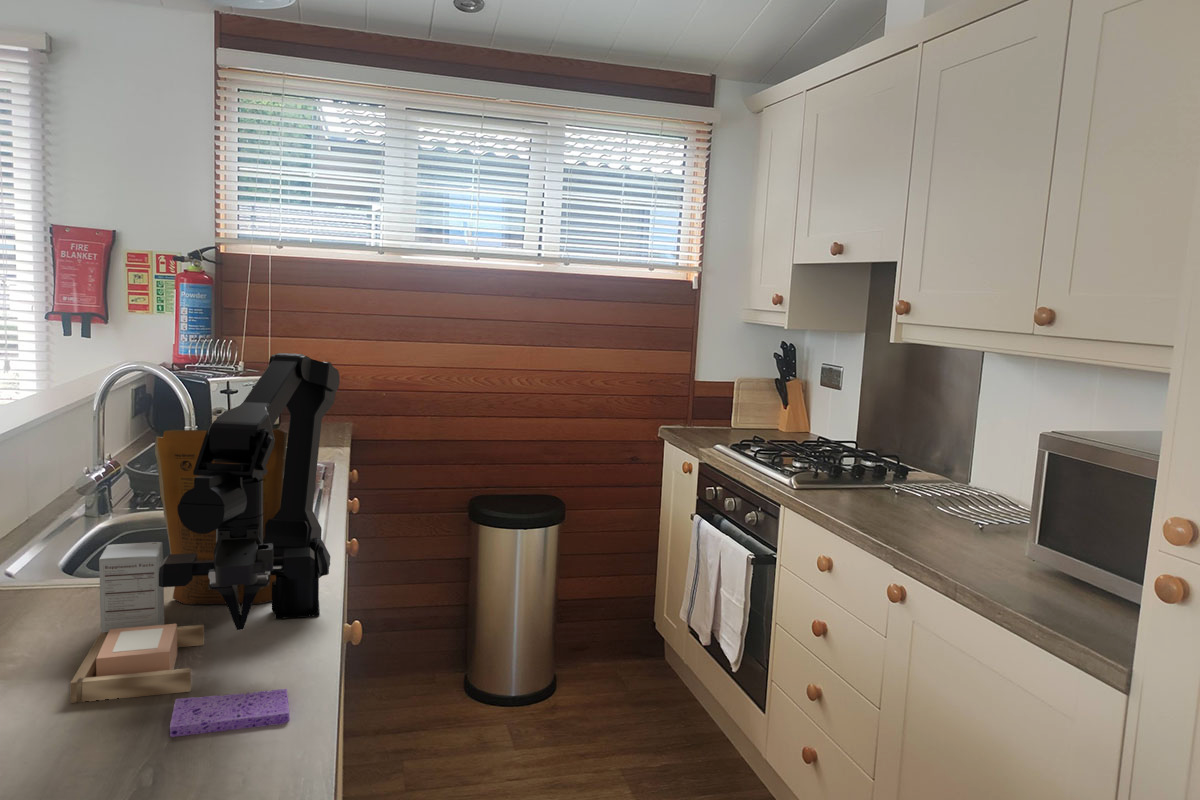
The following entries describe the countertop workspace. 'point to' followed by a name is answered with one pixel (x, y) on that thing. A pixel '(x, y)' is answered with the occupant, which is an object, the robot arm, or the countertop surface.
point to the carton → (138, 650)
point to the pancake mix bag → (177, 478)
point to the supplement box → (131, 586)
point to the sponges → (229, 712)
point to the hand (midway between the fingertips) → (240, 629)
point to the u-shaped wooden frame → (133, 674)
